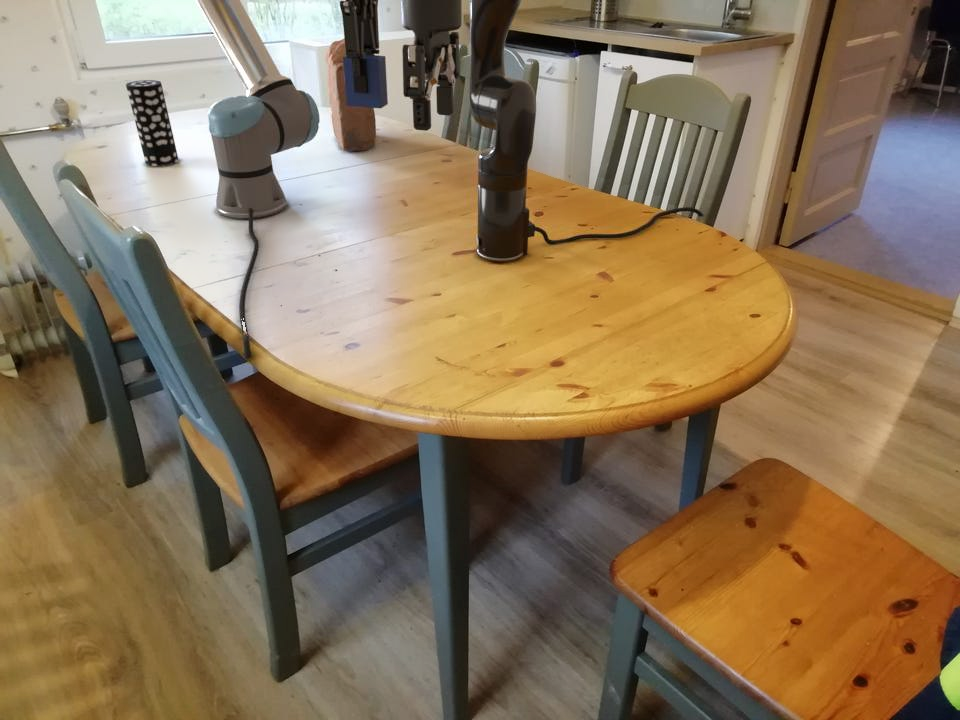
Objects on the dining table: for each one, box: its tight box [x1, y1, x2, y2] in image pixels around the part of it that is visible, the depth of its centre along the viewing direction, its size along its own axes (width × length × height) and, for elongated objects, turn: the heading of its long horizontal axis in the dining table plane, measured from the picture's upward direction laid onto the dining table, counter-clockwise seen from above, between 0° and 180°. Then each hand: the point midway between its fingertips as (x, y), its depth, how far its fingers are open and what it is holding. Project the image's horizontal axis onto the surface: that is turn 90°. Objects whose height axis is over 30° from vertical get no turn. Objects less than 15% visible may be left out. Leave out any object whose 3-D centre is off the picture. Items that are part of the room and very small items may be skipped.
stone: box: [325, 38, 377, 152], centre depth 197 cm, size 22×11×28 cm, turn 18°
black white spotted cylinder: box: [125, 79, 179, 167], centre depth 181 cm, size 8×8×20 cm
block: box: [343, 54, 389, 109], centre depth 142 cm, size 4×8×10 cm, turn 75°
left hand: (365, 89), depth 143 cm, fingers closed on block, 4 cm apart
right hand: (434, 121), depth 93 cm, fingers open, 8 cm apart
